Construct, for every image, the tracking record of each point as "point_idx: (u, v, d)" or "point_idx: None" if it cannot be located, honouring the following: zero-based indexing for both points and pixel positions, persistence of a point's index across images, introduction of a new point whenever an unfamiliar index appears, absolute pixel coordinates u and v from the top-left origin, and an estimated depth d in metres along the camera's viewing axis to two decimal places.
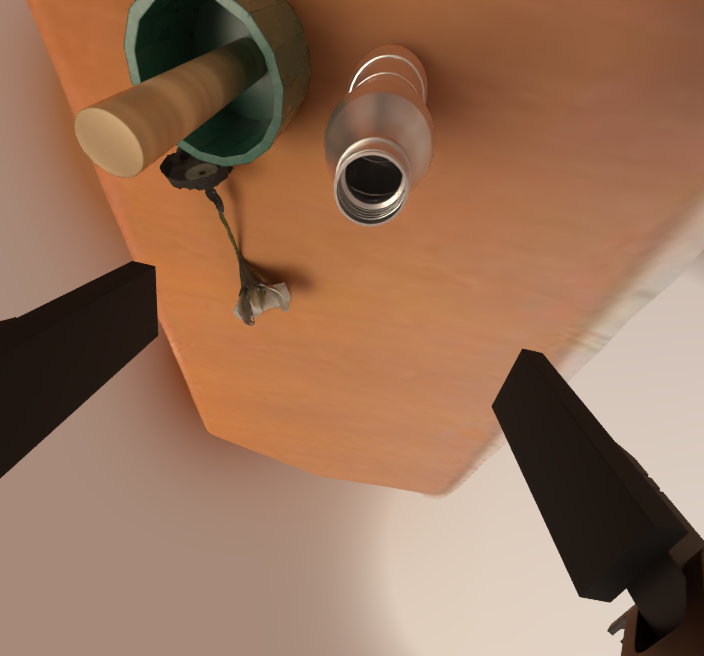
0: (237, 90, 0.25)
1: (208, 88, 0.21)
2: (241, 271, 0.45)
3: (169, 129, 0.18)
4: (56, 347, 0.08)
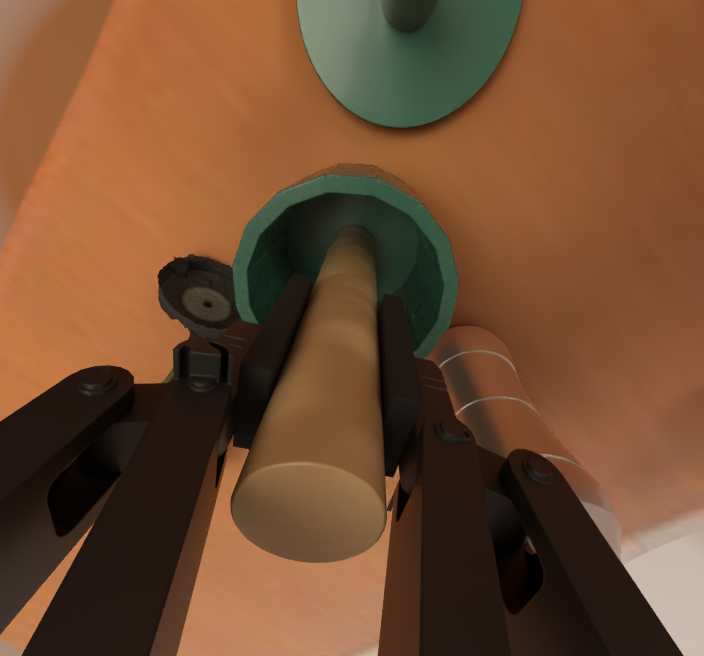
0: None
1: None
2: None
3: None
4: (288, 343, 0.10)
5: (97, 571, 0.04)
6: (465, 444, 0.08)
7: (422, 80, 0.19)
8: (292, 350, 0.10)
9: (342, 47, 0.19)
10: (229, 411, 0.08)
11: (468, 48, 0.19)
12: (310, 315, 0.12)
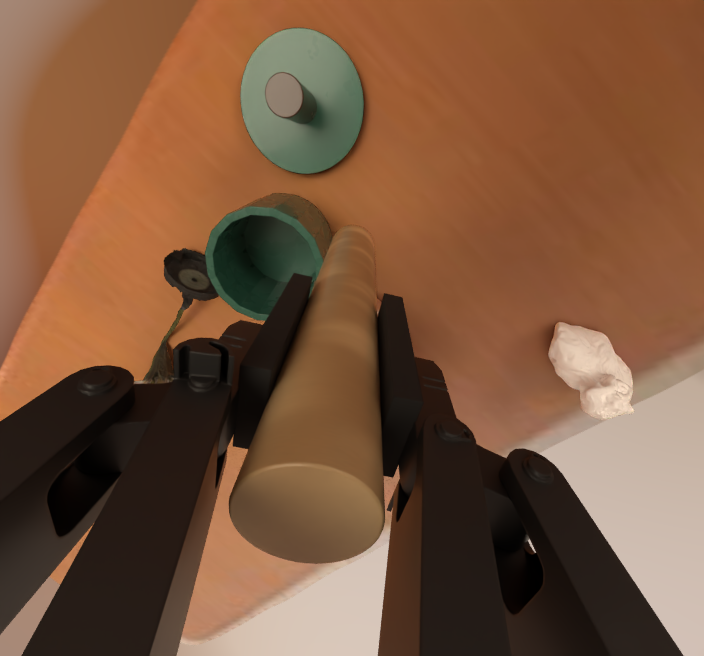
0: None
1: None
2: (159, 354, 0.45)
3: None
4: (288, 344, 0.10)
5: (98, 571, 0.04)
6: (465, 444, 0.08)
7: (314, 148, 0.34)
8: (291, 350, 0.10)
9: (268, 131, 0.33)
10: (229, 411, 0.08)
11: (338, 132, 0.33)
12: (309, 315, 0.12)
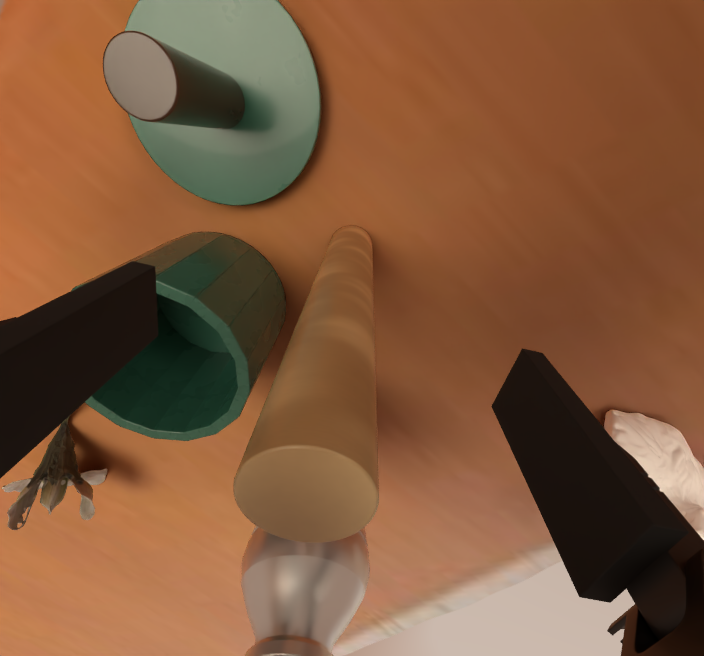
0: None
1: None
2: (55, 442, 0.33)
3: None
4: (56, 347, 0.08)
5: None
6: None
7: (246, 167, 0.22)
8: (291, 345, 0.11)
9: (171, 140, 0.21)
10: None
11: (281, 142, 0.21)
12: (308, 312, 0.12)
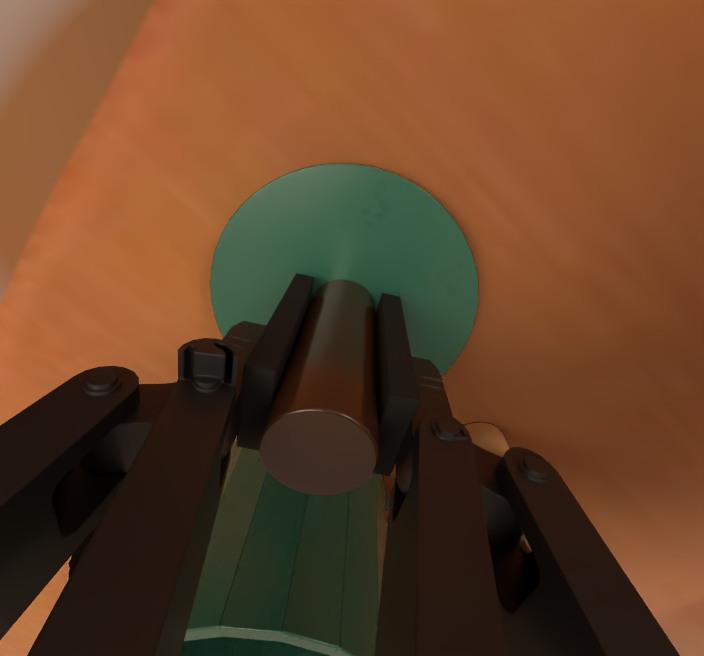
0: None
1: None
2: None
3: None
4: (291, 344, 0.10)
5: (103, 571, 0.04)
6: (461, 443, 0.08)
7: None
8: None
9: None
10: (233, 412, 0.08)
11: (415, 352, 0.16)
12: None
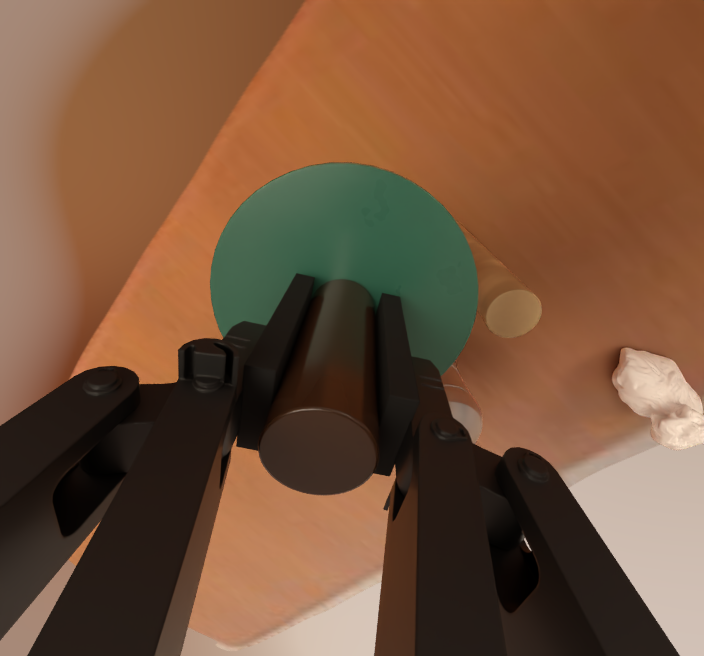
0: None
1: None
2: None
3: None
4: (291, 344, 0.10)
5: (103, 571, 0.04)
6: (461, 443, 0.08)
7: None
8: None
9: None
10: (233, 412, 0.08)
11: (415, 352, 0.16)
12: None
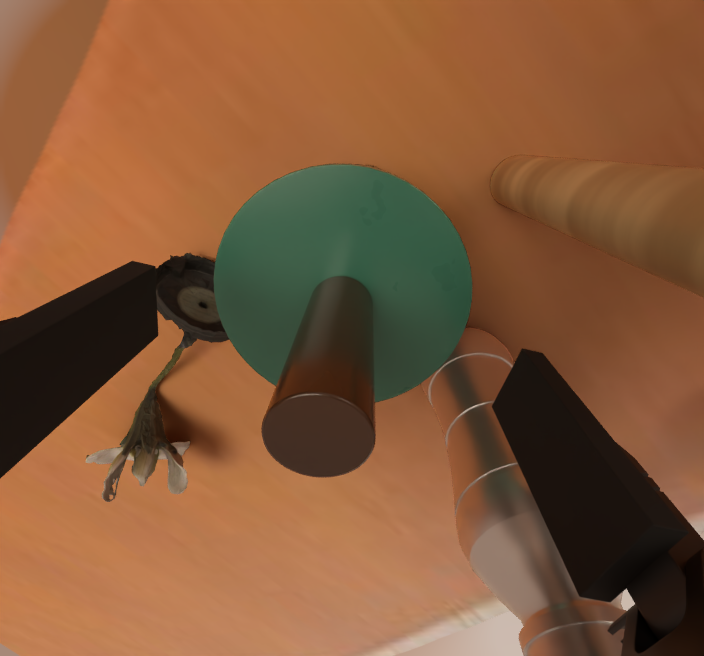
0: None
1: None
2: (144, 408, 0.30)
3: None
4: (56, 347, 0.08)
5: None
6: None
7: None
8: None
9: (271, 342, 0.17)
10: None
11: (412, 347, 0.16)
12: (675, 179, 0.10)
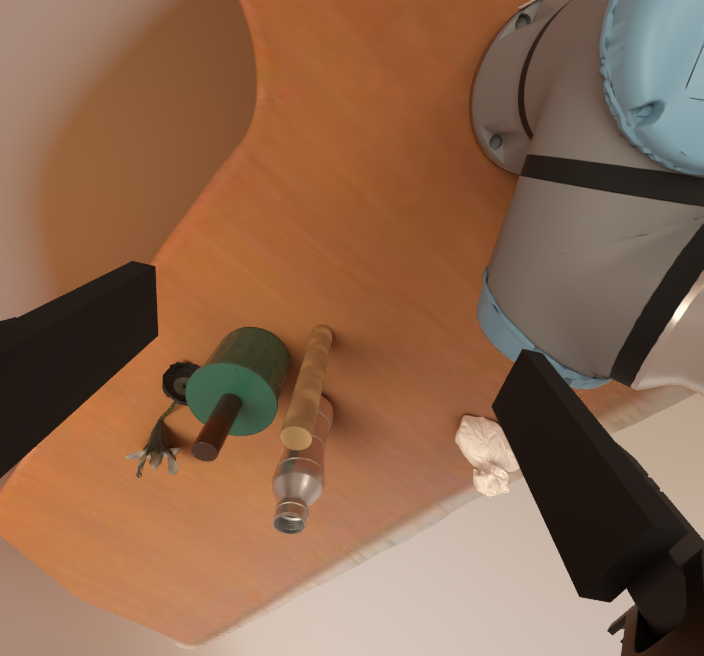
0: None
1: None
2: (155, 431, 0.58)
3: None
4: (56, 347, 0.08)
5: None
6: None
7: (243, 423, 0.45)
8: (292, 398, 0.36)
9: (207, 413, 0.45)
10: None
11: (259, 415, 0.44)
12: (298, 385, 0.37)
